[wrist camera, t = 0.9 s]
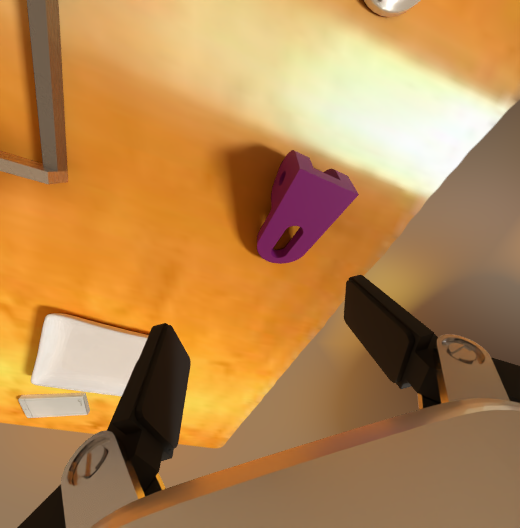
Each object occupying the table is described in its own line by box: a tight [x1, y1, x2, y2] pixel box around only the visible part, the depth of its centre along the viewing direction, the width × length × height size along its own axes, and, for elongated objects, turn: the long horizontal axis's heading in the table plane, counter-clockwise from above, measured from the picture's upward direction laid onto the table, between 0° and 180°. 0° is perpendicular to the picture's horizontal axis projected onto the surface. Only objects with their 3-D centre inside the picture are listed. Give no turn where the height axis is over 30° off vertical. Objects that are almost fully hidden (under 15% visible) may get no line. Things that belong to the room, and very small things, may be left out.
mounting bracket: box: [257, 150, 359, 263], centre depth 34 cm, size 9×8×18 cm
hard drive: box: [19, 393, 90, 418], centre depth 47 cm, size 2×8×12 cm
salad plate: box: [31, 313, 149, 396], centre depth 42 cm, size 21×21×3 cm
